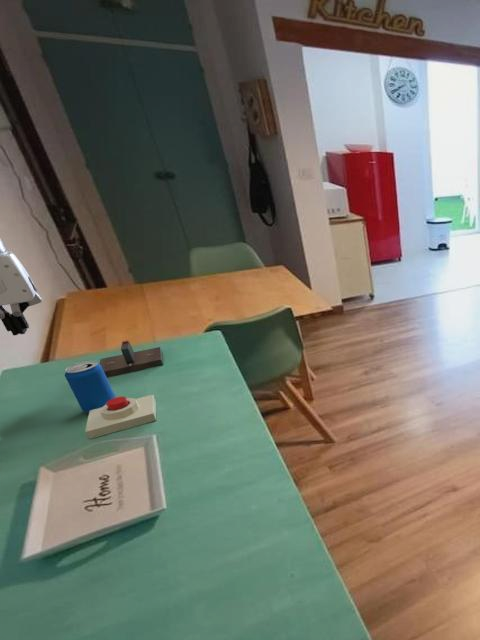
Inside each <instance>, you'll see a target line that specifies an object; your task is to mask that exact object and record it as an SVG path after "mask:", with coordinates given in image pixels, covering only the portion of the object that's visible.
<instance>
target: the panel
mask: <svg viewBox="0 0 480 640" xmlns="http://www.w3.org/2000/svg"><path fill="white" fill-rule="evenodd" d="M133 352H134V354H135V355H134V362H132V363H128V364H127V363H126V361H125V358H124V356H123V354H118V355H112V356H108V357H104V358H100V359H99V363H98V364H99V365H101V366H102V369H103V371H104V373H105V375H106V377H107V378H113V377H116V376H120V375H125V374H129V373H134V372H138V371H143V370H147V369H152V368H156V367H160V366H164V357H163V350H162V348H161V346H158V347H152V348H147V349H142V350H137V351H133Z"/></svg>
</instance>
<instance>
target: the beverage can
mask: <svg viewBox="0 0 480 640" xmlns="http://www.w3.org/2000/svg"><path fill="white" fill-rule="evenodd" d="M99 364H100V363H98V361H96V360H85V361H80V362H76V363H73V364H71V365H69V366H67V367H66V368H65V369H64V371H65V373H64V377H65V380H66V381H67V383H68V386H69V388H70V389H71V391H72V393H73V395H74V397H75V399H76V402H77V403H78V405H79V408H80V409H81V411H82V413H85V414H89V411H90V410H93V409H97V408H101V407H103V406H105V405H106V403H107V402H108V401H109V400H111V399H113V398H116V397H117V396H116V395H115V393H114V391H113V388H112V386H111V384H110V382H109V380H108V377H106V375H105V373H104V371H103V369H102V366H101V365H99Z"/></svg>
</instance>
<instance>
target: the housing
mask: <svg viewBox="0 0 480 640" xmlns="http://www.w3.org/2000/svg"><path fill="white" fill-rule="evenodd" d="M126 398H127V401H128V403H129V405H128V406H127V407H125V408H122V409H119V410H116V411H110V410H109V409H108V406H107V404H106V405H105V406H103V407H101V408H97V409H93V410H90V411H89V413H88V416H87V421H86V427H85V430H84V431H85V434H86V436H87V438H88V440H93V439H97V438H99V437H103V436H107V435H110V434H113V433H117V432H120V431H124V430H129V429H132V428H135V427H138V426H142V425H146V424H149V423H153V422H156V421H157V401H156V399H155V396H154V394H150V395H149V394H148V395H145V396H142V397H138V398H133V397H126Z"/></svg>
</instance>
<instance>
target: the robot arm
mask: <svg viewBox="0 0 480 640" xmlns="http://www.w3.org/2000/svg"><path fill="white" fill-rule="evenodd" d="M42 302H43V297H41V295H39V293H38V290H37V287H36V284H35V283H34V281H33V279H32V277H31V276H30V275H29V273H28V271H27V270H26V269H25V267H24V265H23V264H22V263H21V261H20V260H19V258H18V257H17V255H16V254H14V252H13V251H8V249H7V248H6V246H5V244H4V242H3V240H2V238H1V237H0V321H1V322H2V324H3V326H4V328H5V330H6V331H7V332H11V334H12V335H13V336H18V335H25V334H26V332H27V331H28V329H29V328H30V325H29V323H28V321H27V319H26V317H25V315H24V312H25V311H26V310H27V309H28V308H29V307H32V306H35V305H38V304H41V303H42ZM4 306H10V310H11V313H10V311H8V310H7V308H6V307H4Z"/></svg>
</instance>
